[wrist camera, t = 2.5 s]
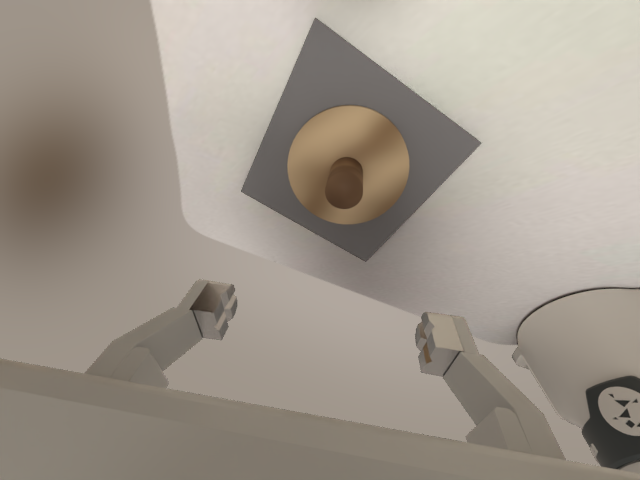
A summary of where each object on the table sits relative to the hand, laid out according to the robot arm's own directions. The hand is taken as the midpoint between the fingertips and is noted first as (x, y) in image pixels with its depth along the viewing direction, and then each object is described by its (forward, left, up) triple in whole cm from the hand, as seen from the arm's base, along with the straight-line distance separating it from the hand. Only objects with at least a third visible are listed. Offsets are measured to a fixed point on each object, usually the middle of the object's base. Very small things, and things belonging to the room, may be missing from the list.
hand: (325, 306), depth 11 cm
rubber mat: (0, 0, -17) cm, 17 cm away
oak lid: (0, 0, -16) cm, 16 cm away
